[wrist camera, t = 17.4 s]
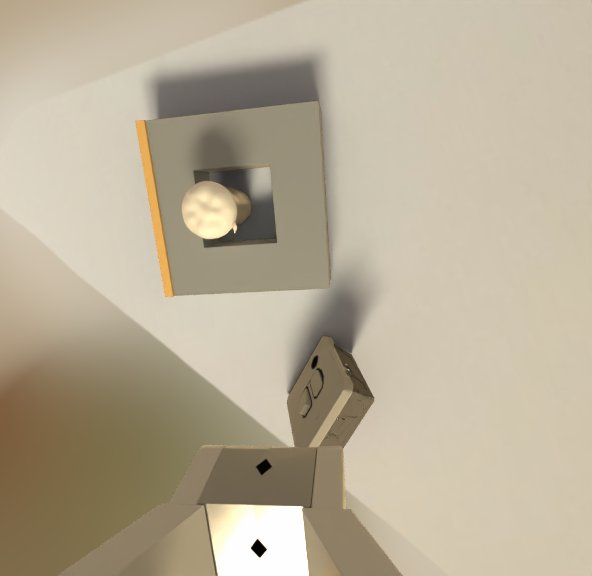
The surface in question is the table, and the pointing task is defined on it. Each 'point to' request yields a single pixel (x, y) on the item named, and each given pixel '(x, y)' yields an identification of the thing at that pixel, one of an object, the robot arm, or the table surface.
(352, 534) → the robot arm
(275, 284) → the socket block
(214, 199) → the milkshake
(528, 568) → the table surface
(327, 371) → the electrical switch
